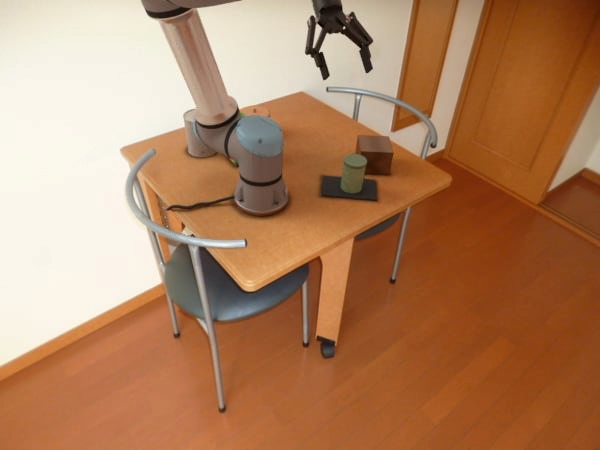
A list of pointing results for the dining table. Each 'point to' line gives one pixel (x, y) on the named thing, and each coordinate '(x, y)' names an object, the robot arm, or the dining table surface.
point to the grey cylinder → (195, 138)
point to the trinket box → (255, 111)
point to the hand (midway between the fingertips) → (348, 74)
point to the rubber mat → (333, 189)
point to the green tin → (353, 173)
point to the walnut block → (375, 153)
